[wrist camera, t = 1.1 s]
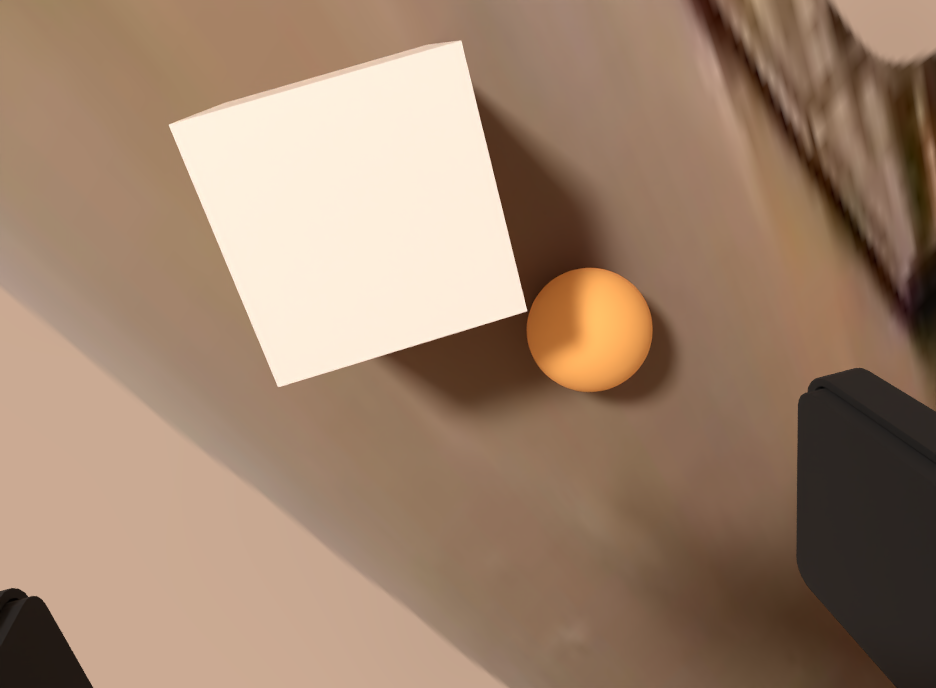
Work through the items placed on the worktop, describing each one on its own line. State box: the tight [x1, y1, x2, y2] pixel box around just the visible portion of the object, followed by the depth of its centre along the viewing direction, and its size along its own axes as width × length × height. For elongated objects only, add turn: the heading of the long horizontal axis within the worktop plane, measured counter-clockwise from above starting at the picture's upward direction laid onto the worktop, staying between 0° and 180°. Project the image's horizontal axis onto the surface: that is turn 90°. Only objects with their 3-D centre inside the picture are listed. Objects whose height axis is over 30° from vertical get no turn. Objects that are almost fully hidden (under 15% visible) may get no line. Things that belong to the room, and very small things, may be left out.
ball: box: [527, 268, 653, 392], centre depth 29 cm, size 5×5×5 cm
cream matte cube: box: [169, 41, 527, 387], centre depth 24 cm, size 8×8×9 cm
